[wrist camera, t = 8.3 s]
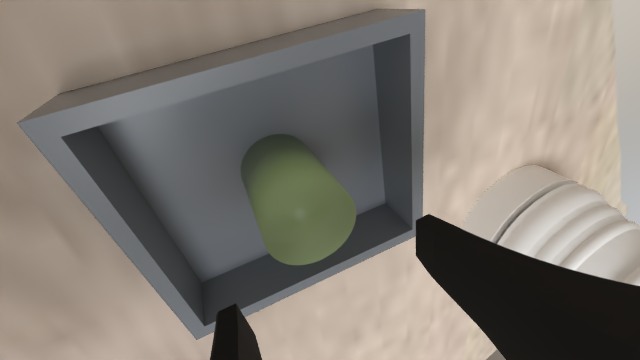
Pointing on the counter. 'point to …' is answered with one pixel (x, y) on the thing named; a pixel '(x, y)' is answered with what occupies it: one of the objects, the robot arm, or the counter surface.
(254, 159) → the cucumber chunk
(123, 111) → the bin
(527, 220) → the honey pot
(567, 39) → the counter surface
